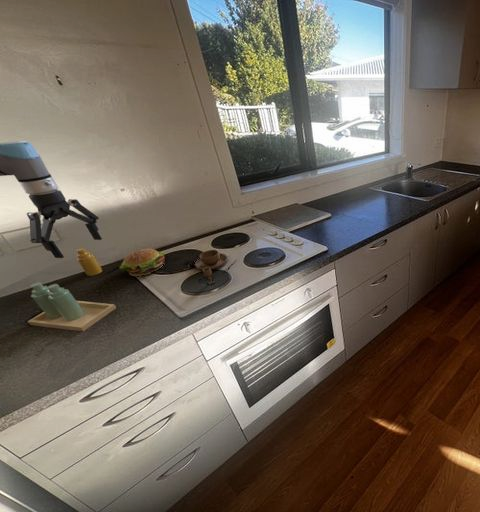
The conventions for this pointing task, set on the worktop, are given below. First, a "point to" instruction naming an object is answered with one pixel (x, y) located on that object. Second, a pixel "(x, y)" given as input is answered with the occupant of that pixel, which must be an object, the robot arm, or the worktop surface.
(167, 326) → the worktop surface
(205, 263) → the place setting
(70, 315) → the sage bottle
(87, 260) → the mustard bottle
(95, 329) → the worktop surface
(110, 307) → the tray
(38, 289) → the sage bottle
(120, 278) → the worktop surface
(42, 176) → the robot arm
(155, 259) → the food
